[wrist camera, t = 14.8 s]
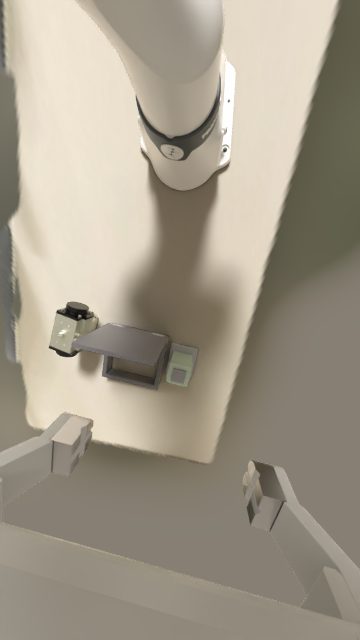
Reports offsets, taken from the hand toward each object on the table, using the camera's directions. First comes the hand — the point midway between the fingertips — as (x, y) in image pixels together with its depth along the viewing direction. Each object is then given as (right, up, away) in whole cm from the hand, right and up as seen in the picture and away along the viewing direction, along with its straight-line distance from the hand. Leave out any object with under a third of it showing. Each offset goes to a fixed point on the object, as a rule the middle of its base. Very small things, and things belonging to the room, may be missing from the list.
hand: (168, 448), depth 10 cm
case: (-11, -3, +42) cm, 43 cm away
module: (+1, -4, +41) cm, 41 cm away
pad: (+1, -4, +41) cm, 41 cm away
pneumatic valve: (-22, +6, +41) cm, 47 cm away
